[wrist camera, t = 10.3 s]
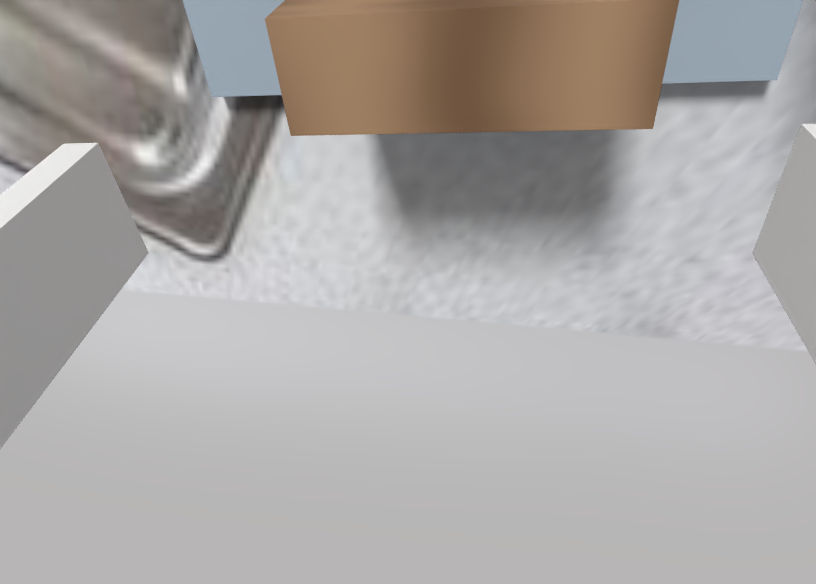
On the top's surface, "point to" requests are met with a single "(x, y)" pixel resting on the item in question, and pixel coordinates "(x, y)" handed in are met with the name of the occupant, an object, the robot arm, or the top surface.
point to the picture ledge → (687, 63)
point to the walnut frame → (469, 64)
